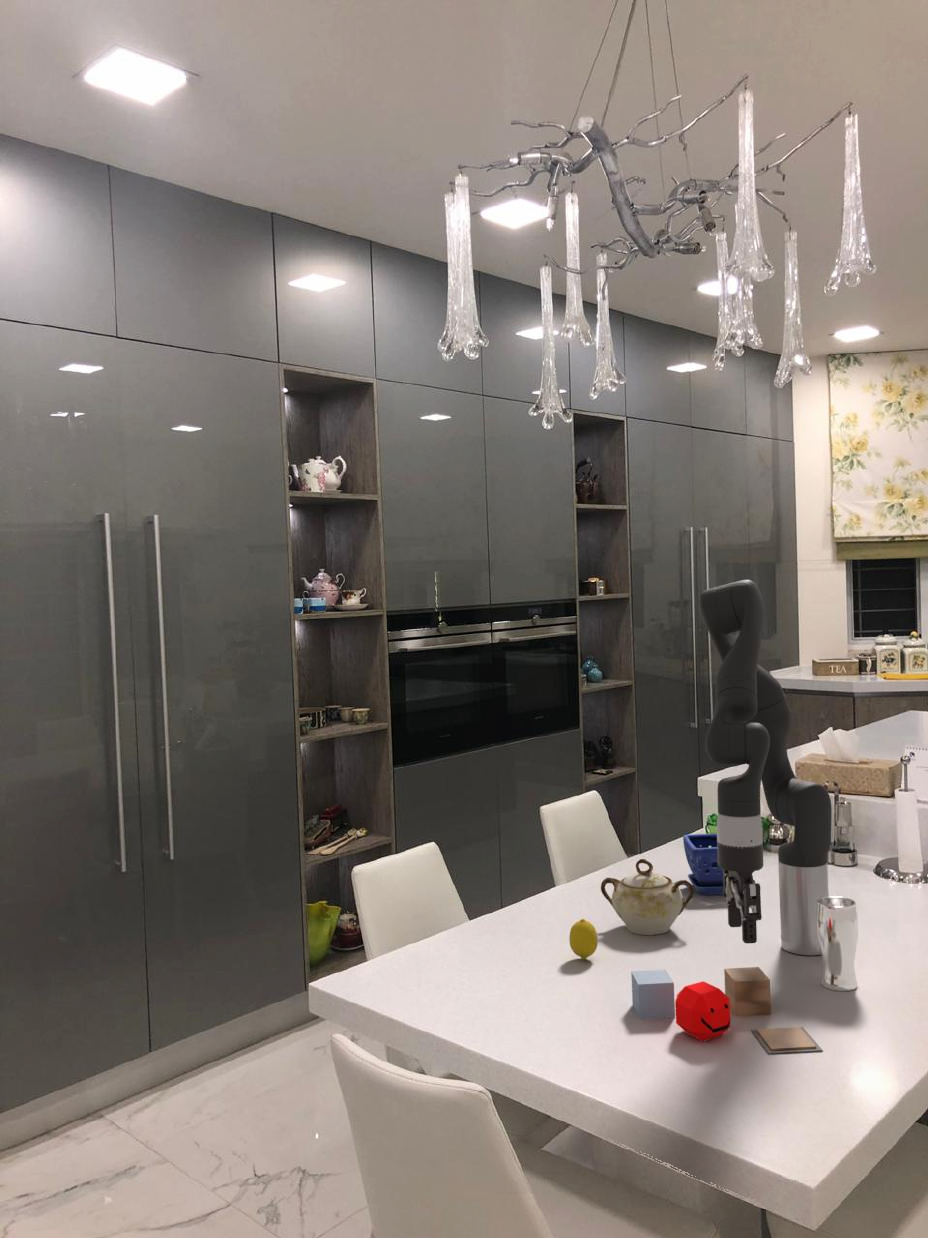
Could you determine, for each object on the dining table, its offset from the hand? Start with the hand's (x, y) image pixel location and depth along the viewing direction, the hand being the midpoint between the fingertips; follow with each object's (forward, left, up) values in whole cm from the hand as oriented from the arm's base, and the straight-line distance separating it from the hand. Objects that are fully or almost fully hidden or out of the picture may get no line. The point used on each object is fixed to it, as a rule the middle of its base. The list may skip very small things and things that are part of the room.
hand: (742, 934), depth 172 cm
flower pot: (-15, -69, -13) cm, 71 cm away
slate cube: (+15, -1, -13) cm, 20 cm away
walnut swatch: (-3, +13, -13) cm, 18 cm away
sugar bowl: (+7, -43, -13) cm, 45 cm away
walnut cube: (-1, 0, -13) cm, 13 cm away
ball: (+9, +9, -13) cm, 19 cm away
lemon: (+23, -27, -13) cm, 38 cm away
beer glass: (-20, -8, -13) cm, 25 cm away
